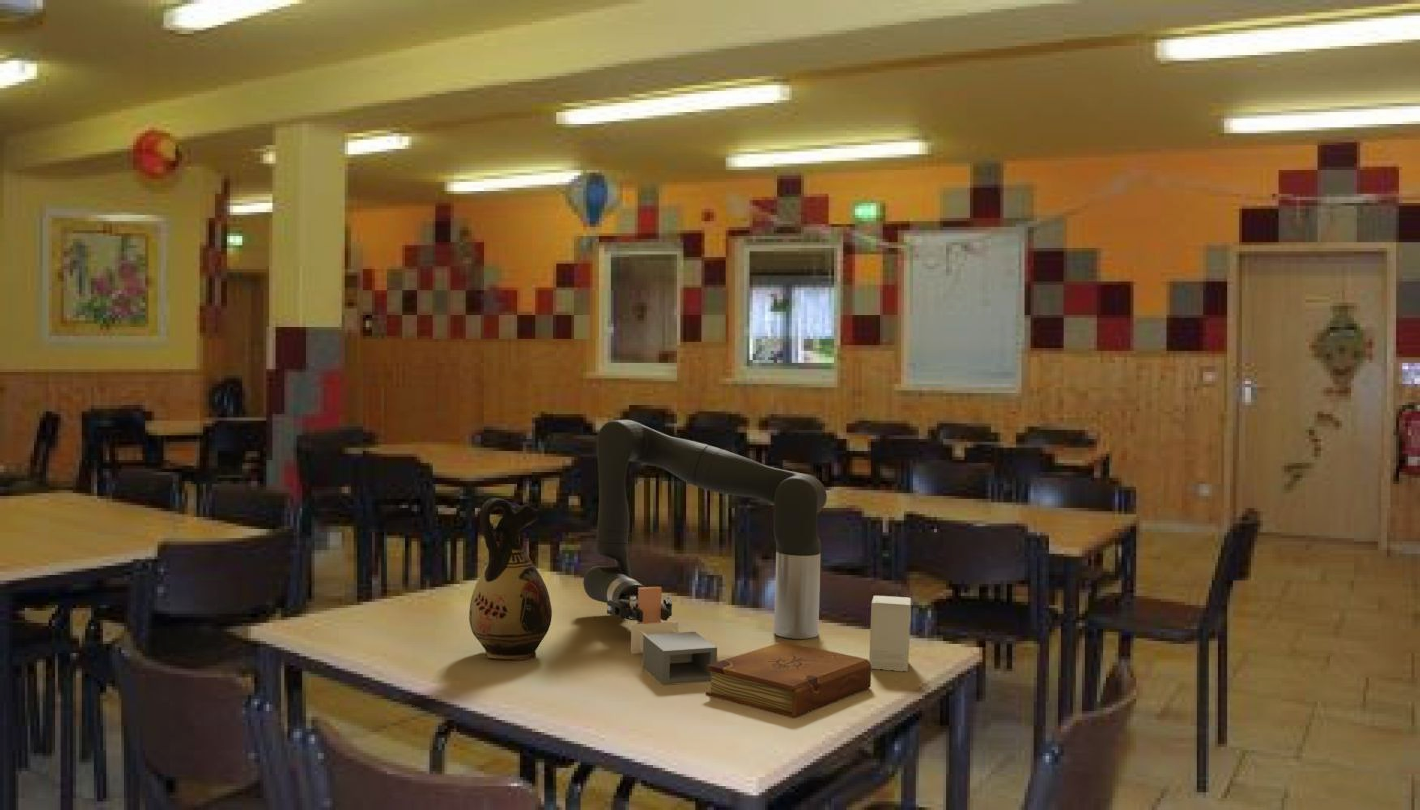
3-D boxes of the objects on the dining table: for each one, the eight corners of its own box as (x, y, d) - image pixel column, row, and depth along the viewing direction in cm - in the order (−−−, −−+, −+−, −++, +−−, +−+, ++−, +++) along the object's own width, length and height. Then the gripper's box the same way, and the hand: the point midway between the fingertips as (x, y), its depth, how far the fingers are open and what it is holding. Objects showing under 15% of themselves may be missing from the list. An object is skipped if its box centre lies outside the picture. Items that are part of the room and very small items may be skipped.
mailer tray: (669, 644, 230) (671, 586, 230) (698, 666, 214) (699, 604, 214) (625, 647, 227) (626, 588, 226) (650, 669, 211) (652, 606, 211)
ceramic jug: (519, 640, 232) (522, 490, 230) (567, 656, 221) (570, 499, 219) (445, 654, 220) (447, 496, 219) (491, 671, 209) (494, 505, 208)
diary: (795, 722, 187) (796, 687, 186) (705, 698, 198) (706, 665, 198) (870, 691, 204) (871, 659, 204) (783, 671, 216) (784, 640, 216)
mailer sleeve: (693, 663, 218) (694, 631, 218) (716, 680, 207) (717, 647, 206) (642, 667, 215) (643, 634, 214) (662, 685, 203) (663, 651, 203)
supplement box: (908, 672, 216) (910, 605, 215) (868, 669, 217) (870, 602, 217) (909, 662, 223) (911, 596, 222) (870, 659, 224) (872, 594, 224)
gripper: (595, 581, 238) (618, 598, 222) (662, 578, 243) (689, 595, 227) (595, 617, 239) (617, 637, 223) (661, 614, 244) (688, 633, 228)
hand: (653, 616), depth 225 cm, fingers closed on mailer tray, 4 cm apart
